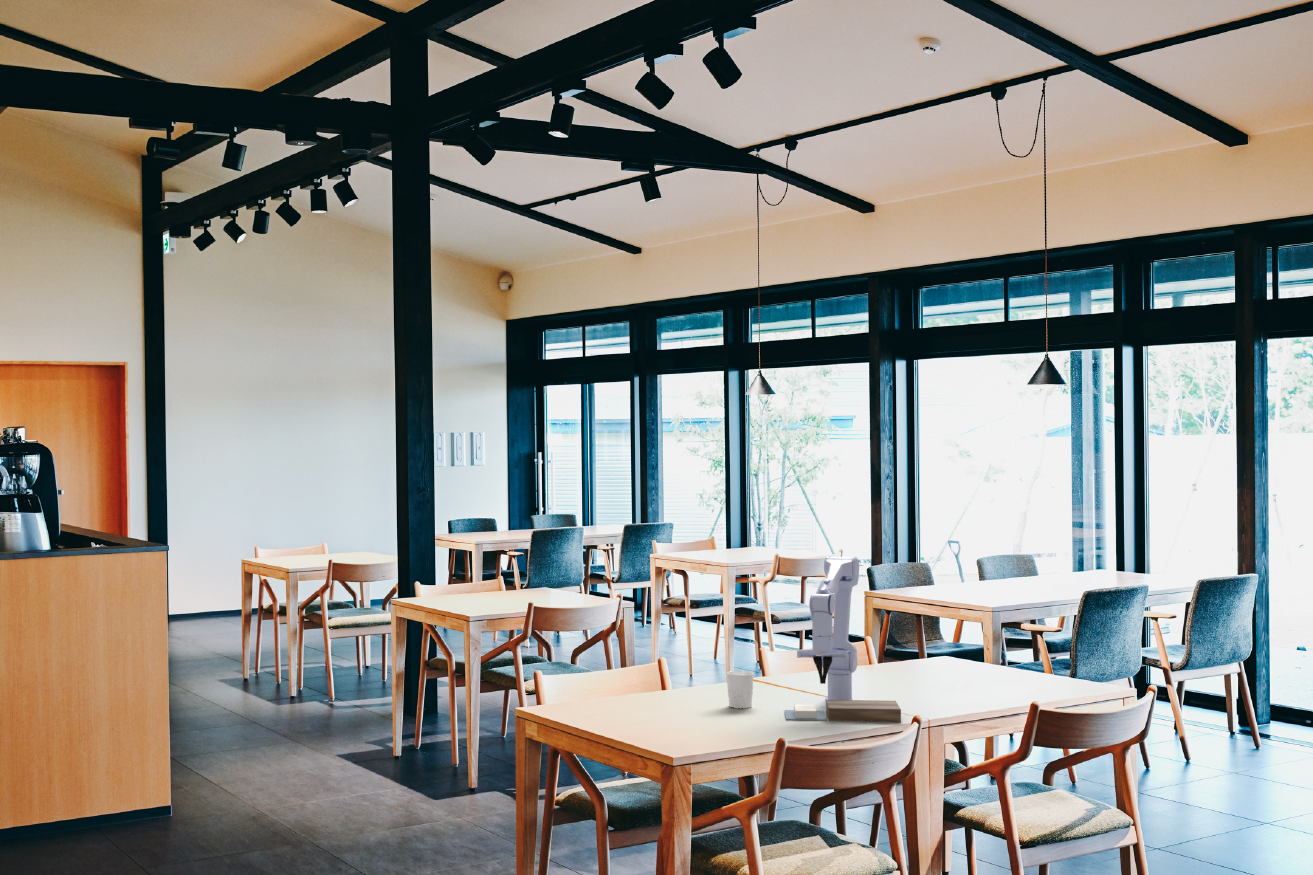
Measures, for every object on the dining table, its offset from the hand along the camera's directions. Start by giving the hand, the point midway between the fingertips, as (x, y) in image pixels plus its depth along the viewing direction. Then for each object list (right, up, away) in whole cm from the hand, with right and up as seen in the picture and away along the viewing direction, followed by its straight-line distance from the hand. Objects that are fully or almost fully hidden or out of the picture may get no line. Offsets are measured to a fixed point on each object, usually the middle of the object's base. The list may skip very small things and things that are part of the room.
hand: (822, 682), depth 334 cm
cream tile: (-5, -7, -1) cm, 9 cm away
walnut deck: (+11, -9, -2) cm, 15 cm away
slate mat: (-5, -9, -1) cm, 11 cm away
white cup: (-23, -10, +13) cm, 28 cm away
